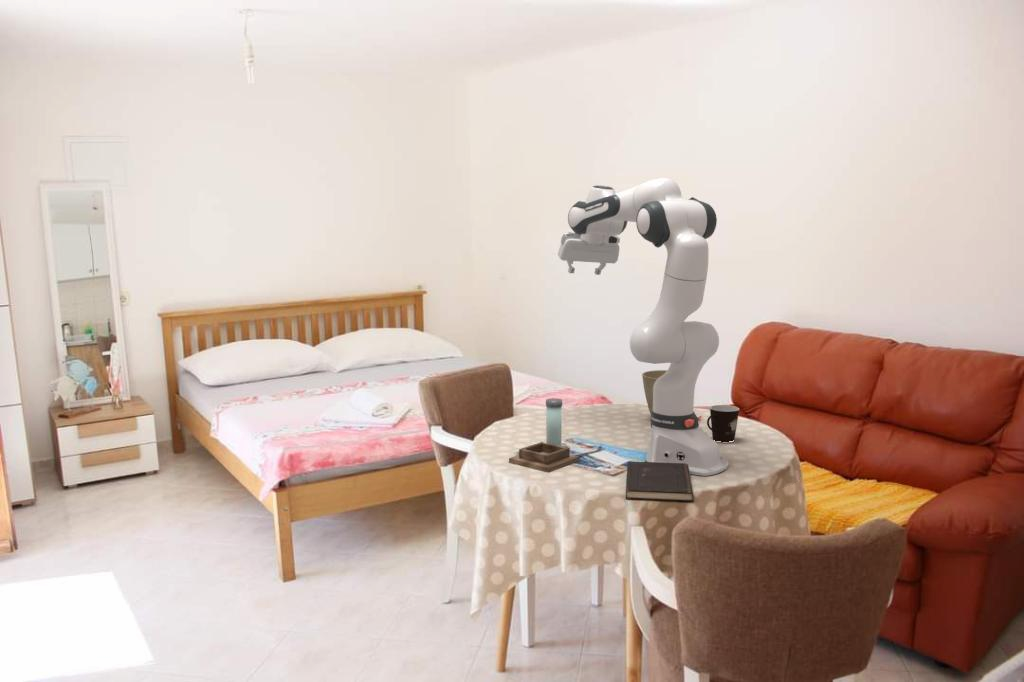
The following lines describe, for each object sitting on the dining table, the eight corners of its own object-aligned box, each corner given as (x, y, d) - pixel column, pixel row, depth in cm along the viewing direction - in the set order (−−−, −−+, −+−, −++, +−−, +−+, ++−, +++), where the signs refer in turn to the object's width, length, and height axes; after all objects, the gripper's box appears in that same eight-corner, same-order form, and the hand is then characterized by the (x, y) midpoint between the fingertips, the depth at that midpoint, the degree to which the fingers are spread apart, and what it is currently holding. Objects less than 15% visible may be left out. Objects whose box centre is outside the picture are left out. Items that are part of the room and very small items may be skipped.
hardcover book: (625, 499, 205) (625, 490, 204) (627, 469, 227) (627, 461, 227) (693, 502, 202) (693, 492, 202) (688, 471, 225) (688, 463, 224)
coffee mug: (729, 435, 262) (730, 404, 261) (743, 443, 254) (744, 410, 252) (694, 438, 259) (695, 406, 258) (707, 445, 251) (708, 412, 250)
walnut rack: (579, 460, 237) (579, 447, 236) (548, 472, 226) (548, 458, 226) (540, 451, 246) (540, 439, 245) (509, 462, 235) (508, 449, 235)
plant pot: (635, 417, 286) (636, 371, 284) (677, 415, 289) (678, 369, 286) (650, 428, 272) (651, 379, 269) (693, 426, 274) (695, 377, 272)
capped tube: (565, 448, 249) (565, 399, 247) (555, 451, 245) (555, 402, 243) (552, 445, 252) (552, 397, 250) (542, 448, 248) (542, 400, 246)
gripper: (566, 235, 267) (557, 275, 273) (624, 239, 274) (615, 278, 280) (559, 228, 273) (551, 268, 279) (617, 232, 279) (608, 271, 285)
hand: (584, 273), depth 279 cm, fingers open, 8 cm apart
